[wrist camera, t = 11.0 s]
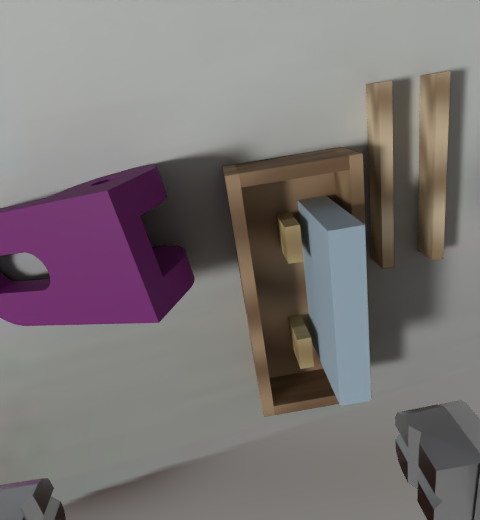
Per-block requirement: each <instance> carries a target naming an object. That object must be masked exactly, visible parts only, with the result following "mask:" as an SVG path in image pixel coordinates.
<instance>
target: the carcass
mask: <svg viewBox="0 0 480 520" xmlns="http://www.w3.org/2000/svg"><path fill="white" fill-rule="evenodd" d="M222 167H223V173H224V179H225V185H226V191H227V197H228V203H229V210H230V216H231V222H232V228H233V234H234V240H235V246H236V253H237V259H238V265H239V271H240V277H241V283H242V289H243V296H244V302H245V308H246V314H247V320H248V326H249V332H250V339H251V345H252V351H253V357H254V363H255V369H256V375H257V382H258V387H259V392H260V398H261V403H262V408H263V414H264V417H267V416H272V415H278V414H284V413H289V412H295V411H301V410H306V409H312V408H318V407H323V406H329V405H335V404H339V402H338V400H337V398H336V396H335V393H334V391H333V389H332V387H331V384H330V382H329V380H328V378H327V375H326V373H325V371H324V369H323V366H322V364H321V362H320V360H319V358H318V355H317V353H316V351H315V349H314V346H313V344H312V341H311V333H310V323H309V312H308V302H307V292H306V282H305V271H304V259H303V249H302V239H301V229H300V220H299V210H298V200H302V199H308V198H314V197H320V196H327V197H328V198H329V199H331V200H332V201H334V202H335V203H336V204H338V205H339V206H340V207H342V208H343V209H344V210H346V211H347V212H348V213H350V214H351V215H352V216H354V217H355V218H356V219H358V220H359V221H360V222H362V223H363V224H364V225H365V200H364V173H363V153H359V152H356V151H353V150H349V149H346V148H343V147H338V148H332V149H326V150H320V151H314V152H308V153H301V154H295V155H289V156H283V157H277V158H271V159H265V160H259V161H253V162H246V163H240V164H234V165H228V166H222ZM365 240H366V227H365ZM366 268H367V254H366ZM367 296H368V282H367ZM368 324H369V309H368ZM369 351H370V336H369ZM370 379H371V363H370ZM371 398H372V390H371Z"/></svg>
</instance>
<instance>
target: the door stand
mask: <svg viewBox="0 0 480 520" xmlns="http://www.w3.org/2000/svg"><path fill="white" fill-rule="evenodd" d="M450 73H451V71H447V72H441V73H434V74H428V75H421V76H420V151H419V225H418V251H419V252H421V253H422V254H424V255H425V256H426V257H428V258H429V259H431V260H437V259H443V256H444V230H445V204H446V177H447V151H448V125H449V99H450ZM366 92H367V123H368V155H369V186H370V218H371V249H372V259H373V260H374V261H375V262H376V263H377V264H378V265H379V266H380V267H381V268H382V269H384V268H390V267H394V212H393V112H392V81H385V82H378V83H372V84H366Z"/></svg>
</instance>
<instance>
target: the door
mask: <svg viewBox="0 0 480 520" xmlns="http://www.w3.org/2000/svg"><path fill="white" fill-rule="evenodd" d="M298 210H299V220H300V229H301V239H302V249H303V259H304V271H305V282H306V292H307V302H308V312H309V323H310V333H311V341H312V344H313V346H314V349H315V351H316V353H317V355H318V358H319V360H320V362H321V364H322V366H323V369H324V371H325V373H326V375H327V378H328V380H329V382H330V384H331V387H332V389H333V391H334V393H335V396H336V398H337V400H338V402H339V404H340V406H343V405H349V404H355V403H361V402H366V401H371V379H370V351H369V324H368V296H367V268H366V240H365V225H364V224H363V223H362V222H360V221H359V220H358V219H356V218H355V217H354V216H352V215H351V214H350V213H348V212H347V211H346V210H344V209H343V208H342V207H340V206H339V205H338V204H336V203H335V202H334V201H332V200H331V199H329V198H328V197H327V196H320V197H314V198H308V199H302V200H298Z"/></svg>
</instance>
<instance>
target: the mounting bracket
mask: <svg viewBox="0 0 480 520" xmlns="http://www.w3.org/2000/svg"><path fill="white" fill-rule="evenodd" d="M166 198H167V195H166V192H165V189H164V186H163V183H162V180H161V177H160V174H159V171H158V168H157V165H146V166H141V167H136V168H132V169H128V170H125V171H121V172H118V173H114V174H111V175H107V176H104V177H100V178H97V179H94V180H91V181H88V182H85V183H82V184H79V185H77V186H74V187H72V188H69V189H67V190H64V191H62V192H59V193H57V194H54V195H52V196H49V197H47V198H44V199H41V200H37V201H33V202H28V203H23V204H19V205H14V206H9V207H5V208H0V256H1V255H8V254H16V253H23V252H26V253H30V254H33V255H34V256H36V257H37V258H39V259H40V260H41V261H42V262H43V264H44V265H45V266H46V268H47V270H48V272H49V275H50V279H41V280H31V281H20V282H14V281H11V280H9V279H8V278H6V277H5V276H4V275H3V274H2V273H1V272H0V318H2V319H4V320H6V321H8V322H10V323H13V324H17V325H22V326H39V325H80V324H121V323H159V322H160V321H161V320H162V319H163V318H164V316H165V315H166V314H167V313H168V312H169V311H170V310H171V309H172V308H173V307H174V306H175V304H176V303H177V302H178V301H179V300H180V299H181V298H182V297H183V296H184V295H185V293H186V292H187V291H188V290H189V289H190V288H191V287H192V285H193V283H194V275H193V272H192V269H191V266H190V263H189V260H188V257H187V254H186V251H185V249H184V248H182V247H180V246H160V247H156V248H153V249H152V247H151V244H150V241H149V238H148V236H147V233H146V230H145V228H144V225H143V222H142V220H141V217H140V216H141V215H143V214H144V213H146V212H147V211H149V210H151V209H152V208H154V207H155V206H157V205H159V204H160V203H162V202H163V201H164V200H165V199H166Z"/></svg>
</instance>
